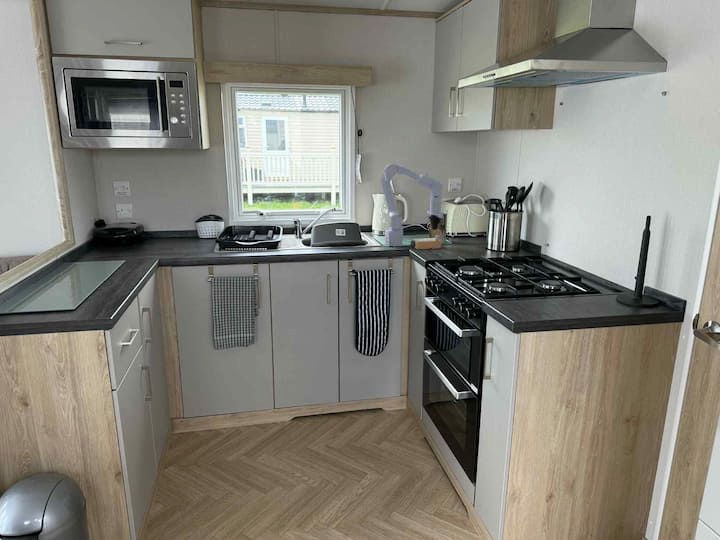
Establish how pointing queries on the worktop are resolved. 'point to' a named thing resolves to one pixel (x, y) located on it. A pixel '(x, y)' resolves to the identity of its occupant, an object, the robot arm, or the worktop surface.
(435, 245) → the side door
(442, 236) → the coffee box
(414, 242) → the pale upright slab
